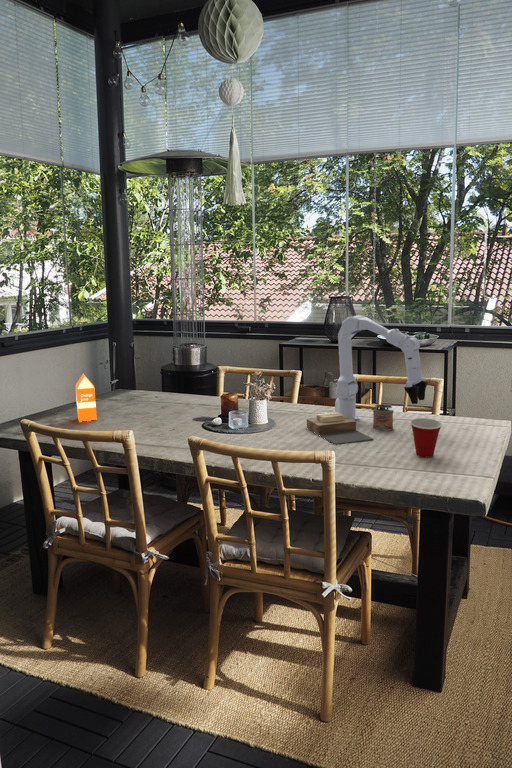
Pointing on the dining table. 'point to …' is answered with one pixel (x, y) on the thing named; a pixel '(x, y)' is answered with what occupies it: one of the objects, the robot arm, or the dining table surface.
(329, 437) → the rubber mat
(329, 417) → the birch tile
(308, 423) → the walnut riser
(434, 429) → the plastic cup
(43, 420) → the dining table surface
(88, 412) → the orange juice
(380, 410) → the lighter
